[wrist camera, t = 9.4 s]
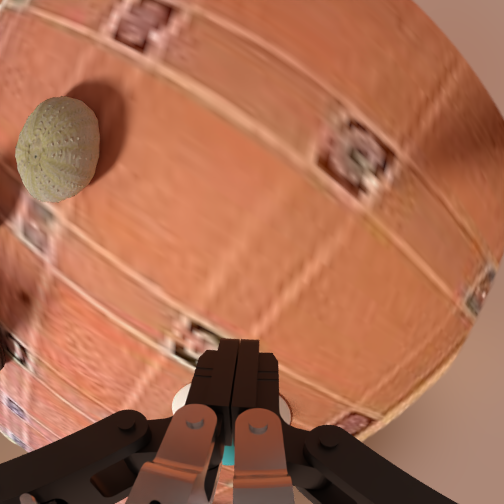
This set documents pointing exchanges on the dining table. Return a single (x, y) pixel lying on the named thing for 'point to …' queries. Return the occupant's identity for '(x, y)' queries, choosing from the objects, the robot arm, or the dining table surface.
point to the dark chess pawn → (2, 357)
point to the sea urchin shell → (58, 149)
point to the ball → (228, 455)
